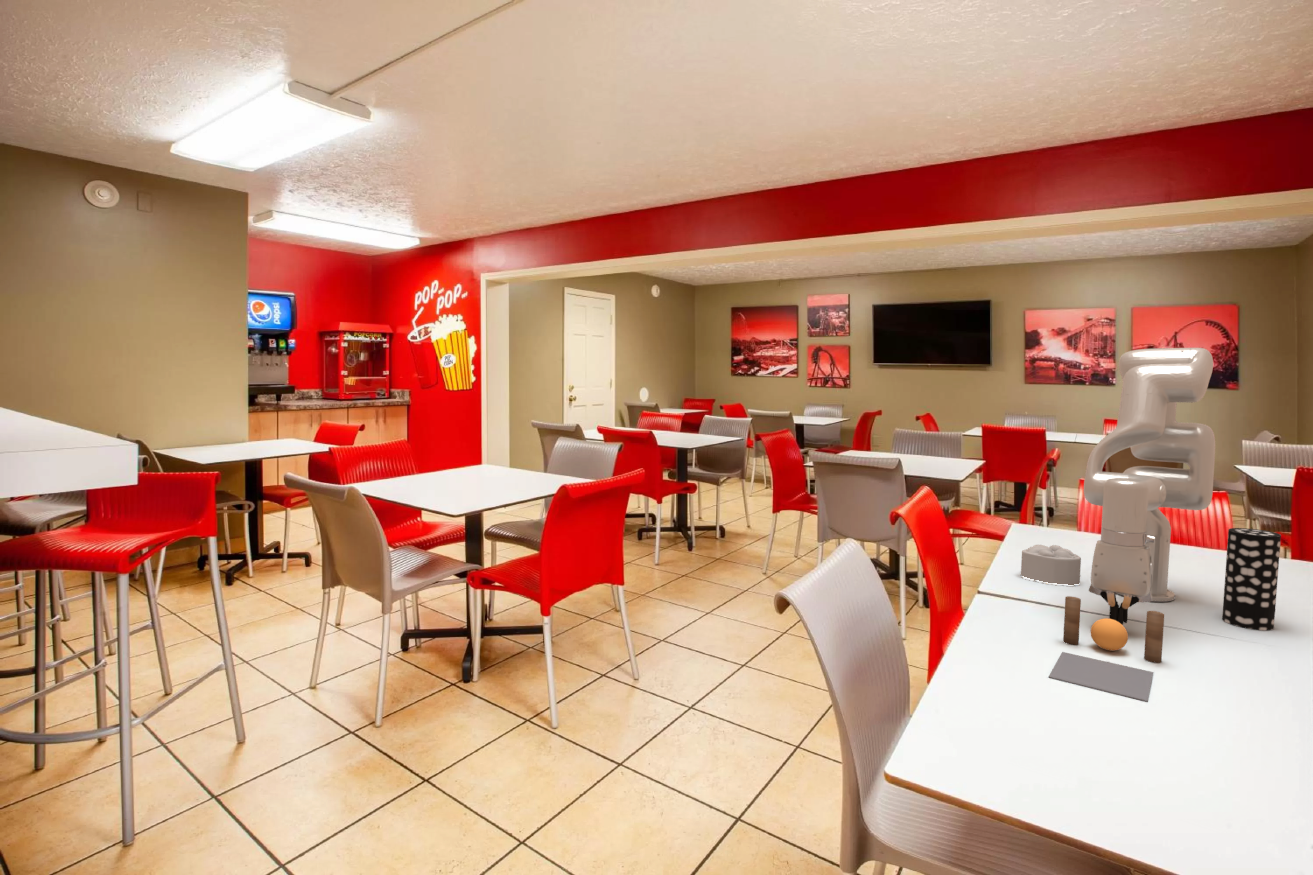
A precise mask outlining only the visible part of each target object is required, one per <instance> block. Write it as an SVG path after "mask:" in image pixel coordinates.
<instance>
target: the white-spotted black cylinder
mask: <svg viewBox="0 0 1313 875" xmlns="http://www.w3.org/2000/svg"><path fill="white" fill-rule="evenodd" d="M1281 539H1282V535H1281V533H1278V532H1274V531H1269V530H1263V529H1257V528H1244V527H1243V528H1242V527H1232V528H1231V527H1230V528H1228V532H1227V546H1226V561H1225V571H1224V572H1225V573H1224V574H1225V575H1224V588H1223V602H1222V604H1223V605H1222V614H1221V615H1222V618H1221V620H1222V621H1223V622H1225V623H1226V624H1229V625H1231V626H1235V627H1239V628H1242V629H1243V628H1244V629H1248V630H1253V631H1254V630H1255V631H1273V630H1274V629H1275V618H1276V617H1275V615H1276V604H1277V593H1278V591H1277V590H1278V581H1279V580H1278V578H1279V565H1280V551H1281V542H1282V541H1281Z"/></svg>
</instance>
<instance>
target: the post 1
mask: <svg viewBox="0 0 1313 875" xmlns="http://www.w3.org/2000/svg"><path fill="white" fill-rule="evenodd" d="M1081 605H1082V601H1081V598H1079V597H1076V596H1068V595H1067V596H1065V599H1064V619H1063V620H1064V621H1063V638H1062V640H1063V641H1064V642H1065V643H1064V642H1063V641H1062V642H1063V643H1064V644H1066V643H1067V645H1071V646H1078V645H1079V643H1080V641H1079V640H1080V627H1081V626H1080V622H1081Z"/></svg>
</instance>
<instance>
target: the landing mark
mask: <svg viewBox="0 0 1313 875" xmlns="http://www.w3.org/2000/svg"><path fill="white" fill-rule="evenodd" d="M1153 676H1154V672H1153V671H1150V670H1144V669H1140V668H1137V667H1132V666H1127V665H1122V664H1119V663H1115V662H1110V661H1107V660H1106V661H1104V660H1100V659H1096V658H1091V657H1087V656H1083V655H1077V654H1074V653H1069V652H1065V651H1062V652H1061V653H1060V656H1059V657H1058V658H1057V661H1056V662H1055V664H1054V666H1053V668H1052V670H1051V671H1050V673H1049V675H1048V678H1049V679H1054V680H1057V681H1061V682H1064V683H1070V684H1073V685H1078V686H1081V687H1086V688H1090V689H1094V690H1097V691H1102V692H1106V693H1109V694H1113V695H1118V696H1122V697H1126V698H1130V699H1134V700H1138V701H1143V702H1146V703H1148V702H1149V698H1150V694H1151V693H1150V692H1151V687H1152V683H1153V682H1152V681H1153Z"/></svg>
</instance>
